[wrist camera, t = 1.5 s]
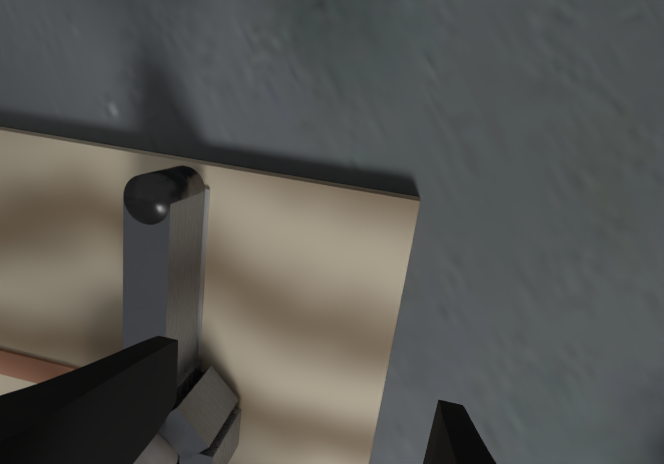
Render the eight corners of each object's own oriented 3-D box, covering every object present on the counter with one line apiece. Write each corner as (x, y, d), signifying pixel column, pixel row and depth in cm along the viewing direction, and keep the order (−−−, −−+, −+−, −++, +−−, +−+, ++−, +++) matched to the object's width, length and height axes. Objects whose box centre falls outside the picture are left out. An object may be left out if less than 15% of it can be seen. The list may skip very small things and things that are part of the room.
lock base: (345, 581, 27) (323, 718, 21) (-1, 480, 31) (-106, 573, 25) (420, 197, 21) (420, 234, 15) (-33, 121, 24) (-189, 124, 18)
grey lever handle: (235, 479, 25) (207, 536, 22) (120, 448, 26) (76, 498, 23) (263, 176, 20) (233, 189, 17) (121, 152, 21) (65, 160, 18)
